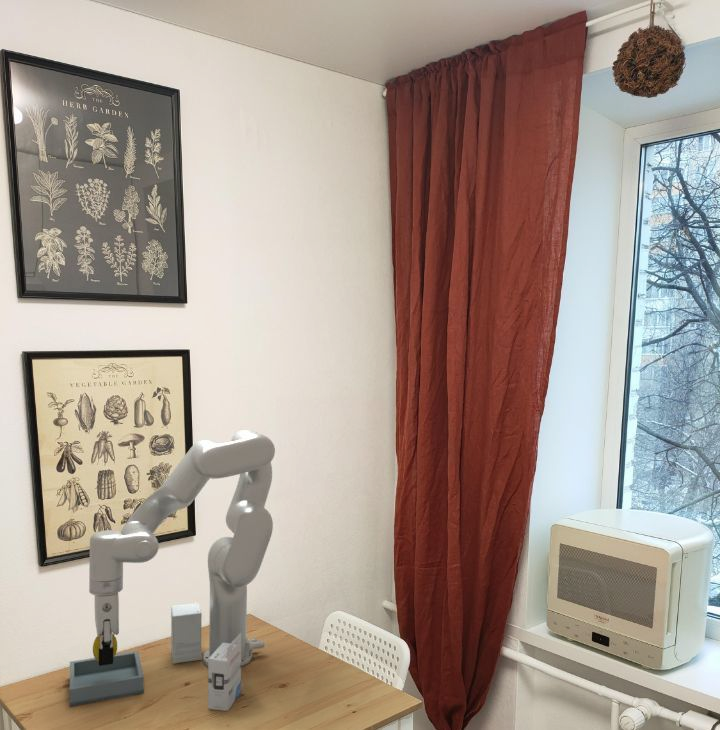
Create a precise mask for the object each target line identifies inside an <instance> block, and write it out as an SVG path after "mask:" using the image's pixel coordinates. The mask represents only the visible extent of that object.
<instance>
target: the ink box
mask: <svg viewBox="0 0 720 730" xmlns="http://www.w3.org/2000/svg"><path fill="white" fill-rule="evenodd" d="M234 643H236V644H234ZM207 667H208V668H207V671H208V673H207V679H208V680H207V709H209V710H215V711H224V712H228V711H230V710H229V709H231V707H232V706H233V704H234V703H235V701H236V700H237V698H238V697H239V696H240V694H241V692H242V691H241V689H242V687H241V686H242V666H241V633H240V634H239V635H238V636H237V637H236V638H235V639H234V640H233V642H232V643H231V644H230V643H222V644H221V645H220V646H219V647H218V649H217V650H216V651H215V652H214V653H213V654H212V655H211V656H210V657H209V659H208V666H207Z"/></svg>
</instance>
